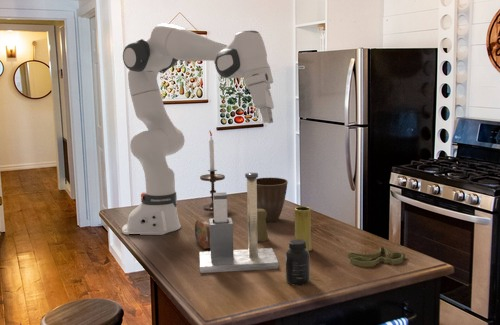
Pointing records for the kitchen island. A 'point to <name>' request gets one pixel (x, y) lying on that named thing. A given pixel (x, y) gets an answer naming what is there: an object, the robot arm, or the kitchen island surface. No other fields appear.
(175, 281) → the kitchen island surface
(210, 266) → the stand
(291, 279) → the supplement bottle
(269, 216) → the plant pot
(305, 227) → the vase
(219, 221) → the column
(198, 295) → the kitchen island surface
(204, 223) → the tin
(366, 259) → the cookie cutter
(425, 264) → the kitchen island surface
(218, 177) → the candlestick
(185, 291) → the kitchen island surface
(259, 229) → the olive waisted cylinder
